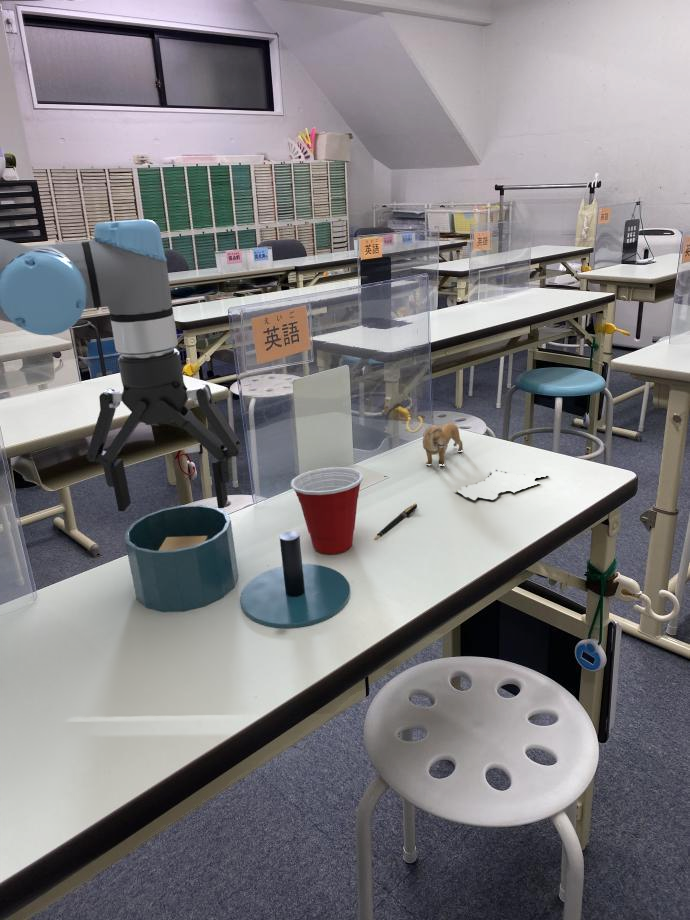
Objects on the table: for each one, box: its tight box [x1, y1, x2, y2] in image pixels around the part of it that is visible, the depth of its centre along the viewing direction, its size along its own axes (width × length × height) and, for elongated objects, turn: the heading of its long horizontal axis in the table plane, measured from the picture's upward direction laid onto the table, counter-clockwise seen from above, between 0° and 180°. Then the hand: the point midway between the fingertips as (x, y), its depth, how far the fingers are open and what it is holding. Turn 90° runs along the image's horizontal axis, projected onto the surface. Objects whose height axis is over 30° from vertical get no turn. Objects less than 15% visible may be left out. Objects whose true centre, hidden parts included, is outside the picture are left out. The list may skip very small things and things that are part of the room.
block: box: [158, 536, 208, 551], centre depth 96 cm, size 6×6×6 cm
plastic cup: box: [290, 466, 364, 556], centre depth 103 cm, size 11×11×12 cm
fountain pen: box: [373, 502, 418, 540], centre depth 111 cm, size 14×1×2 cm, turn 146°
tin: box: [123, 504, 239, 613], centre depth 96 cm, size 14×14×10 cm
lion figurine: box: [422, 422, 464, 465], centre depth 135 cm, size 15×5×9 cm, turn 154°
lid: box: [240, 530, 351, 629], centre depth 91 cm, size 15×15×10 cm
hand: (173, 505), depth 93 cm, fingers open, 13 cm apart
